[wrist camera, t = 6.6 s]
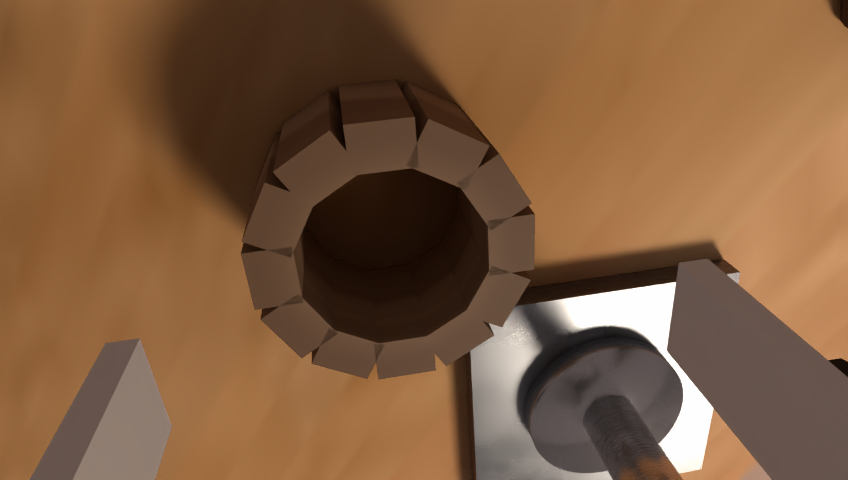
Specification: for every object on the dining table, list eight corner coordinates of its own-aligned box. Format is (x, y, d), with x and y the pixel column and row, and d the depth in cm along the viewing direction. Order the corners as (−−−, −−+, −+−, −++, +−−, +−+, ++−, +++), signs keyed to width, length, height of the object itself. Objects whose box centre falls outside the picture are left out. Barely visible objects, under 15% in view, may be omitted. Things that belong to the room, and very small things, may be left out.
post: (472, 490, 31) (543, 748, 21) (462, 297, 26) (551, 523, 16) (688, 451, 32) (851, 677, 22) (723, 259, 27) (959, 446, 17)
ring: (284, 313, 25) (276, 395, 20) (236, 96, 20) (212, 140, 16) (496, 282, 25) (533, 354, 21) (491, 69, 21) (536, 102, 17)
